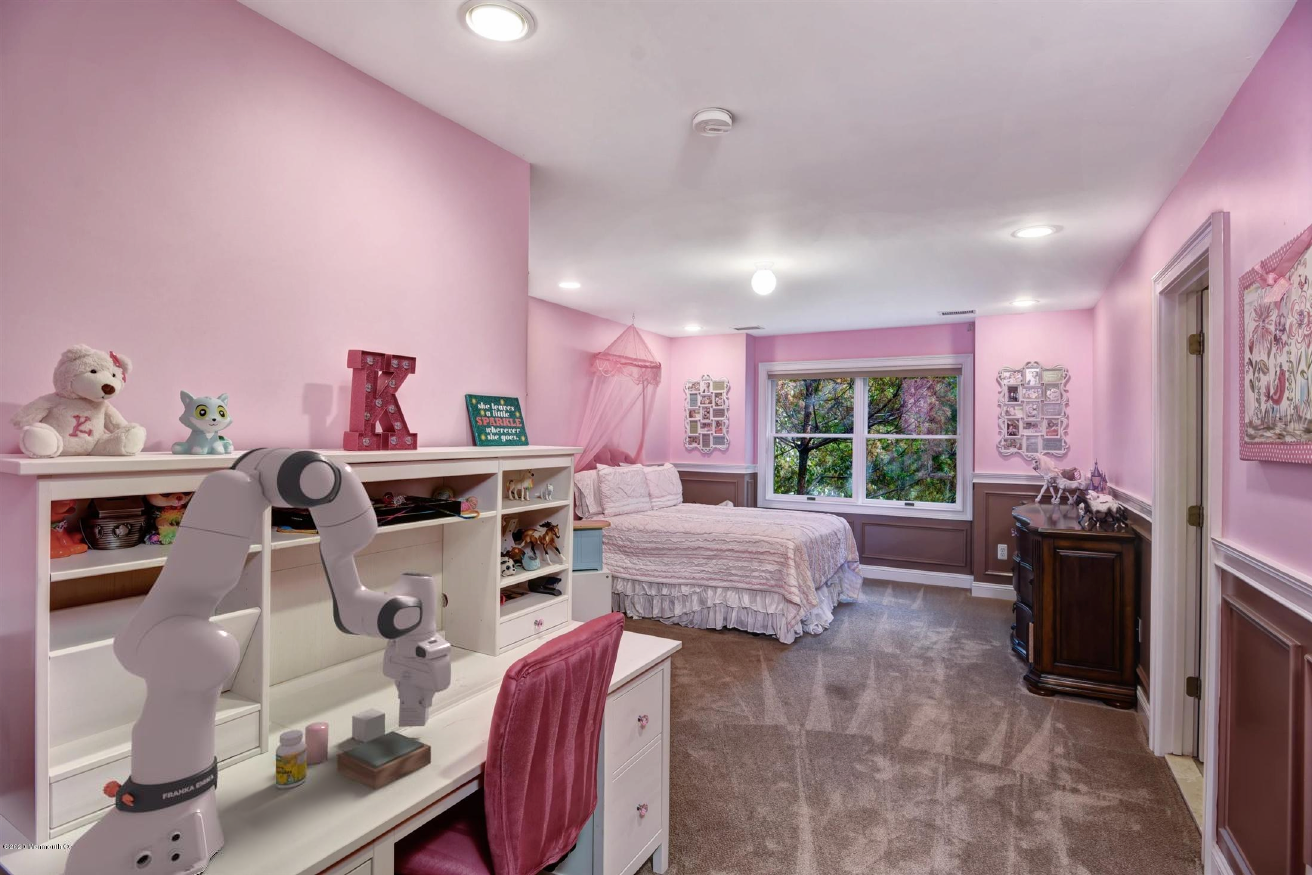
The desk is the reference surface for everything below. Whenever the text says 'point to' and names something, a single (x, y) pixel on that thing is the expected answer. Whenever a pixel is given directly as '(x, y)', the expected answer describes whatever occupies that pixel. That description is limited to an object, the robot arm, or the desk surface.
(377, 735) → the light gray block
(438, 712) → the desk surface
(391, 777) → the tray
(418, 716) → the skincare box
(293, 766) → the supplement bottle
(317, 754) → the pink pillar
